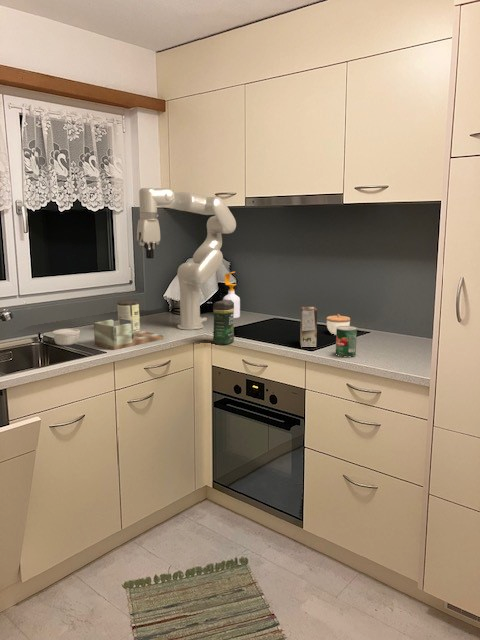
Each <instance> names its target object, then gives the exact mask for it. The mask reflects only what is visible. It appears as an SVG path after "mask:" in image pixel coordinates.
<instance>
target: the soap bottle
mask: <svg viewBox="0 0 480 640" xmlns="http://www.w3.org/2000/svg"><path fill="white" fill-rule="evenodd" d="M235 273H236V271H231V272H228V273H225V274H224V285H225V286H228V287H229V288H228V291H227V292H228V293H227V294H226V295H225V296H223V299H222V300H232V301H233V302H234V315H233V319H238V318H240V317H241V298H240V296H238V295H237V294H236V293H235V289H234V287H235V286H237V283H231V282H230V281H231V277H230V276H231V274H235Z"/></svg>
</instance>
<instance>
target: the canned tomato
mask: <svg viewBox="0 0 480 640" xmlns="http://www.w3.org/2000/svg"><path fill="white" fill-rule="evenodd" d="M357 329H358V327H356V326H353V325H350V326H338V327H337V331H336V335H335V336H336V337H335V354H337V355H339V356H354V357H356V356H357V354H356V353H357V333H358V330H357ZM355 355H356V356H355ZM339 356H338V357H339Z"/></svg>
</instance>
